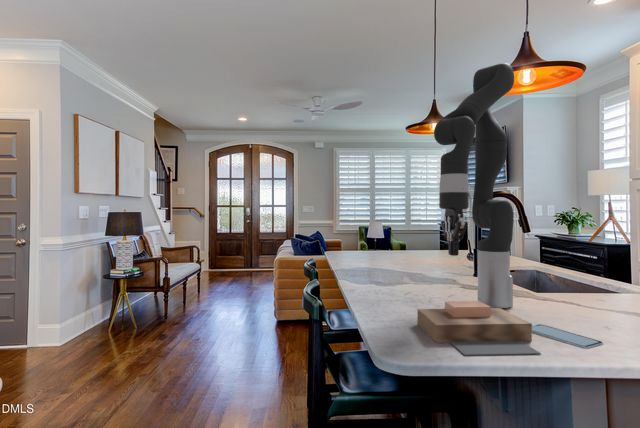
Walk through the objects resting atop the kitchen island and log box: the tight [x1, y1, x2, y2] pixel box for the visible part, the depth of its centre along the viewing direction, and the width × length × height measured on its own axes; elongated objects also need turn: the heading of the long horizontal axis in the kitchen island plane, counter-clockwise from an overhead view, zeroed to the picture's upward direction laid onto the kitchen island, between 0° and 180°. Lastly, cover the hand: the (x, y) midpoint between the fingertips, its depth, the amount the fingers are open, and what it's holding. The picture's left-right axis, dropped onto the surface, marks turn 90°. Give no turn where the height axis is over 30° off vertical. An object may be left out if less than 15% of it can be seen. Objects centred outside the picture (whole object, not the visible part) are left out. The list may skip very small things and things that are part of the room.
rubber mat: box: [449, 341, 542, 357], centre depth 82 cm, size 16×8×1 cm, turn 93°
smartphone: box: [532, 323, 604, 349], centre depth 90 cm, size 7×1×15 cm
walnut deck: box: [417, 308, 533, 344], centre depth 93 cm, size 22×14×4 cm, turn 93°
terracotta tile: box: [444, 300, 491, 317], centre depth 95 cm, size 9×6×2 cm, turn 93°
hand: (453, 255), depth 103 cm, fingers closed
